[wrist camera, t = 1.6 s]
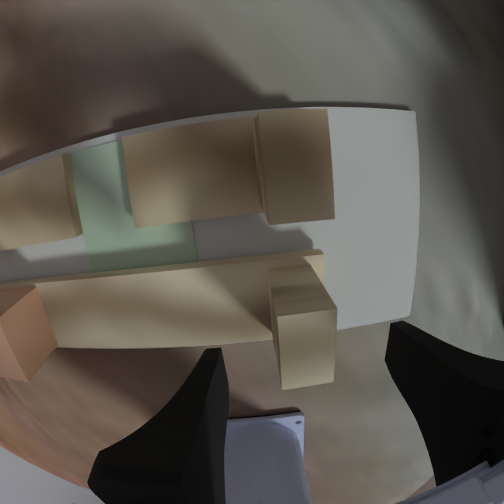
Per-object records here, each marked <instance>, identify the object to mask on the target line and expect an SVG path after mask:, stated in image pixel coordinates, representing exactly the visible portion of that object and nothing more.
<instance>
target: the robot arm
mask: <svg viewBox="0 0 504 504" xmlns="http://www.w3.org/2000/svg"><path fill="white" fill-rule="evenodd" d="M385 362H386V365H387V367H388V370H389V372H390V374H391V377H392V379H393V380H394V382H395V384H396V386H397V387H398V389H399V391H400V392H401V394H402V396H403V397H404V399H405V401H406V402H407V404H408V406H409V408H410V409H411V411H412V413H413V415H414V417H415V418H416V421H417V423H418V425H419V428H420V430H421V433H422V435H423V438H424V441H425V444H426V447H427V450H428V453H429V456H430V460H431V464H432V467H433V471H434V476H435V481H436V486H437V487H435V488H433V489H431V490H429V491H426V492H424V493H422V494H419V495H417V496H414V497H412V498H409V499H407V500H404V501H401V502H399V503H396V504H504V361H499V360H494V359H490V358H486V357H482V356H479V355H476V354H473V353H470V352H467V351H464V350H462V349H459V348H457V347H455V346H452V345H450V344H448V343H446V342H444V341H442V340H440V339H438V338H436V337H434V336H432V335H430V334H428V333H426V332H424V331H423V330H421V329H419V328H417V327H415V326H413V325H411V324H409V323H407V322H405V321H399V322H394V323H391V324H390V331H389V337H388V343H387V349H386V355H385ZM228 409H229V386H228V379H227V375H226V370H225V365H224V360H223V355H222V349H221V348H209V349H206V350H205V351H204V352H203V354H202V356H201V357H200V359H199V361H198V362H197V364H196V366H195V367H194V369H193V370H192V372H191V373H190V375H189V376H188V378H187V379H186V381H185V382H184V383H183V385H182V386H181V387H180V389H179V390H178V391H177V392H176V394H175V395H174V396H173V397H172V399H171V400H170V401H169V402H168V403H167V404H166V405H165V406H164V407H163V408H162V409H161V410H160V411H159V412H158V413H157V414H156V415H155V416H154V417H153V418H151V419H150V420H149V421H148V422H147V423H145V424H144V425H143V426H142V427H140V428H139V429H138V430H136V431H135V432H133V433H132V434H130V435H129V436H127V437H126V438H124V439H122V440H121V441H119V442H117V443H115V444H113V445H111V446H109V447H107V448H105V449H103V450H101V451H99V453H98V455H97V457H96V459H95V462H94V464H93V467H92V470H91V473H90V476H89V479H88V482H87V483H88V486H89V488H90V489H91V490H92V491H93V493H94V494H95V495H97V496H98V497H99V498H100V499H101V500H102V501H103V502H104V503H105V504H312V502H311V497H310V492H309V487H308V482H307V476H306V471H305V466H304V461H303V447H304V414H303V413H301V412H296V413H289V414H282V415H273V416H264V417H254V418H242V419H228Z"/></svg>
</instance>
